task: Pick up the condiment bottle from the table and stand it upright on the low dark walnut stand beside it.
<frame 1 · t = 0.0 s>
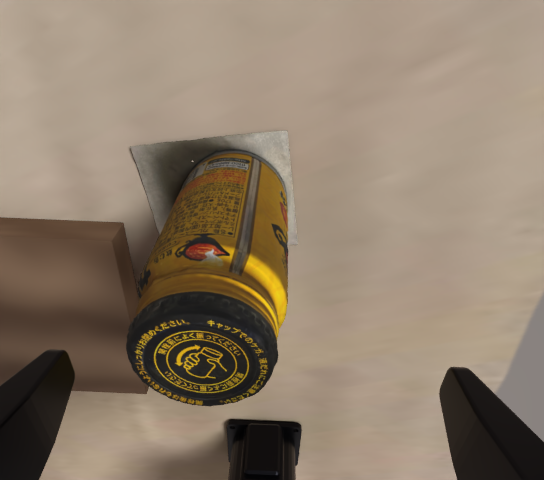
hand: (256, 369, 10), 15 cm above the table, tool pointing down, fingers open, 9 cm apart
condiment: (221, 195, 24), on the table
stand: (55, 303, 29), on the table
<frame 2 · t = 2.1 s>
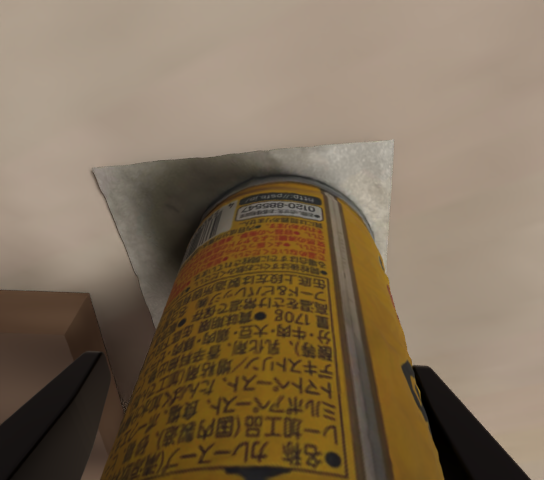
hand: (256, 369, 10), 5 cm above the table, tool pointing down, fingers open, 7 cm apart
condiment: (256, 251, 14), on the table, touching gripper
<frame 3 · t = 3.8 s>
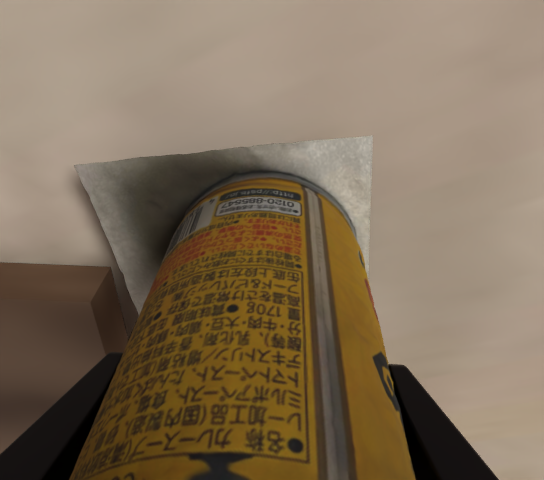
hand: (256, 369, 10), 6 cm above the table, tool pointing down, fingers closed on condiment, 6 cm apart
condiment: (240, 247, 14), point 1 cm above the table, touching gripper
stand: (14, 376, 20), on the table
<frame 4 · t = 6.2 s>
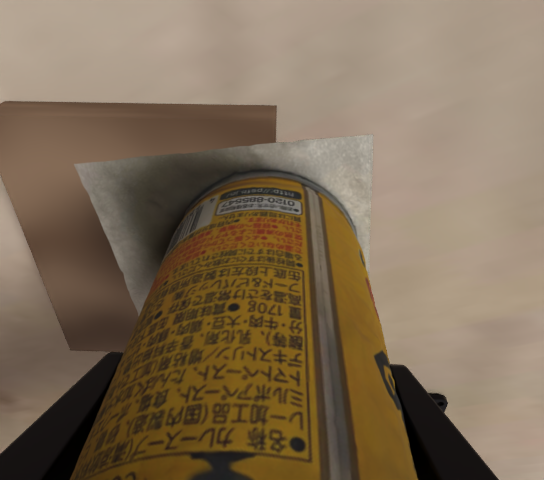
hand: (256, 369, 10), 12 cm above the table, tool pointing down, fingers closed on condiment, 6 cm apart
condiment: (240, 246, 14), point 7 cm above the table, touching gripper
stand: (162, 235, 22), on the table
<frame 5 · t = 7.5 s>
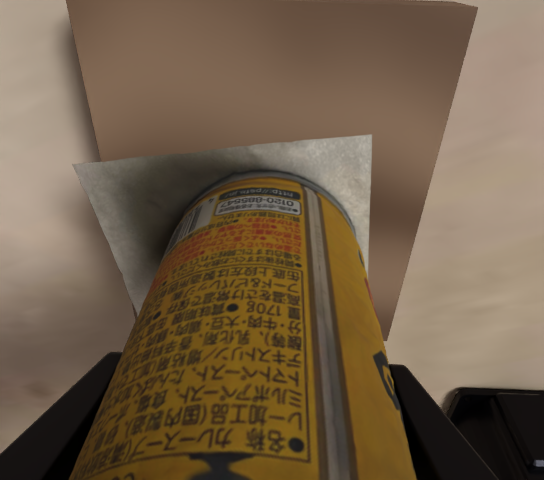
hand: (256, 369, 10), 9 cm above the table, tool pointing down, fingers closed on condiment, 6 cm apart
condiment: (239, 246, 14), point 4 cm above the table, touching gripper
stand: (267, 186, 17), on the table
when the fingers open (7 cm above the table, at t = 8.8 s): condiment stays where it is, resting on stand.
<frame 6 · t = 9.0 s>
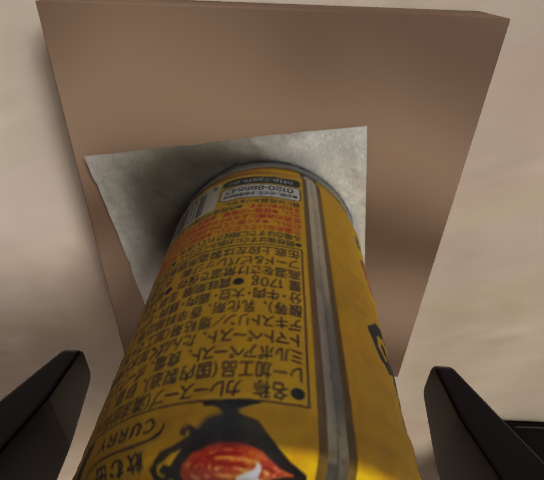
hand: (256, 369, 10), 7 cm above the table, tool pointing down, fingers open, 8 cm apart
condiment: (242, 235, 14), point 2 cm above the table, touching stand
stand: (267, 210, 16), on the table
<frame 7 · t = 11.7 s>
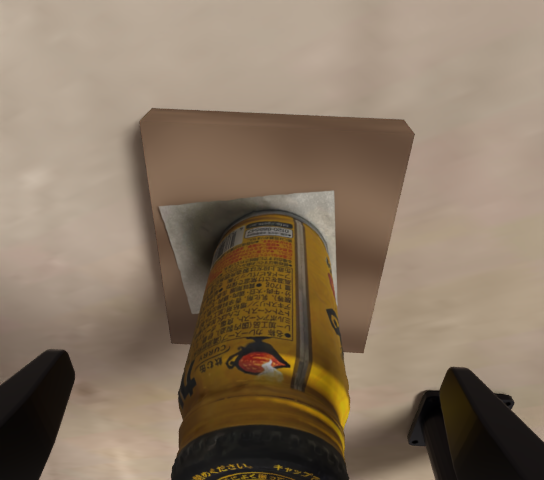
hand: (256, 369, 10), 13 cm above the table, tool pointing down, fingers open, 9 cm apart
condiment: (255, 254, 22), point 2 cm above the table, touching stand
stand: (272, 236, 23), on the table
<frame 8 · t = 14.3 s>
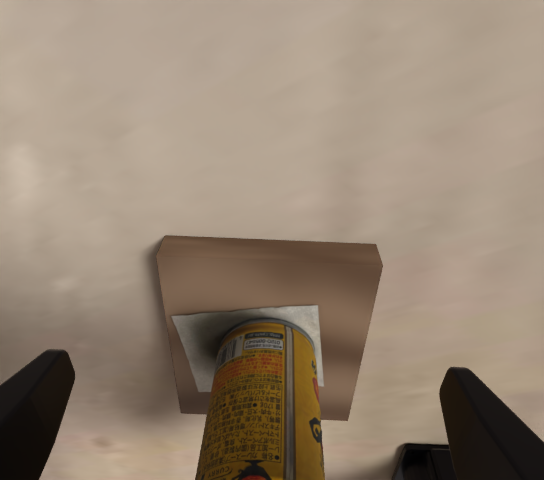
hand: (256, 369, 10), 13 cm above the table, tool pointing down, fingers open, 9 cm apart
condiment: (253, 347, 26), point 2 cm above the table, touching stand
stand: (267, 327, 27), on the table
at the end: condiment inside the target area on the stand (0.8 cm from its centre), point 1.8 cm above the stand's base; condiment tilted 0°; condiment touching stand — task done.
